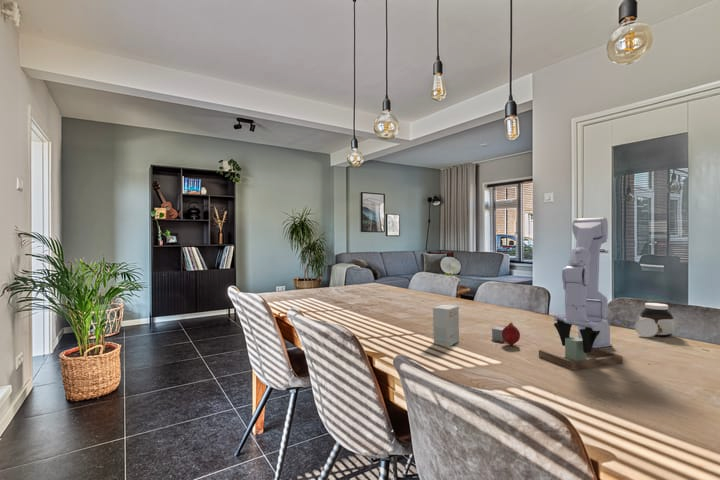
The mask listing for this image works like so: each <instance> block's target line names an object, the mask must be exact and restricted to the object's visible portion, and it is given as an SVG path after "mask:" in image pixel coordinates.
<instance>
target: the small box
mask: <svg viewBox="0 0 720 480" xmlns="http://www.w3.org/2000/svg"><path fill="white" fill-rule="evenodd" d="M459 309H460V307H459V306H458V305H455V304H454V305H453V304H441V305H436V306H434V307H432V320H433V322H432V326H433V344H434V345H438V346H439V345H440V346H445V347H451V346H453V345H455V344H457V343H459V342H460V324H459V323H460V317H459V315H460V311H459Z"/></svg>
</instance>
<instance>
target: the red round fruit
mask: <svg viewBox="0 0 720 480" xmlns="http://www.w3.org/2000/svg"><path fill="white" fill-rule="evenodd" d="M503 328H504V329H503V331H502V337H503V339H504V342H505V343H506V344H508V345H509V346H514V344H515V345H516V343H518V342H519V340H520V338H521V333H520V331H519V328H517V327H516V326H515V325H514V324H513V322H511V321H510V322H509V323H508V325H505V327H503Z"/></svg>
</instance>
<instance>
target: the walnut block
mask: <svg viewBox="0 0 720 480" xmlns="http://www.w3.org/2000/svg"><path fill="white" fill-rule="evenodd" d="M589 354H590V355H594V356H596V358H589V359H586V360H581V361H574V360H572V359H569V358H566V357H565V356H564V357H563V356H561V355H559V354H556V353H552V352H550V351H547V350H544V349H538V357H540V358H542V359H545V360H547V361H550V362H552V363H555V364H558V365H560V366H562V367H566V368H568V369H571V370H572V371H581V370H587V369H592V368H593V369H594V368H600V367H603V366H604V367H605V366H611V365H616V364H622V363H623V355H620V354H617V353H614V352H611V351H607V350H604V349H600V348H594V347H592V349H591V352H590V353H589Z"/></svg>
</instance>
